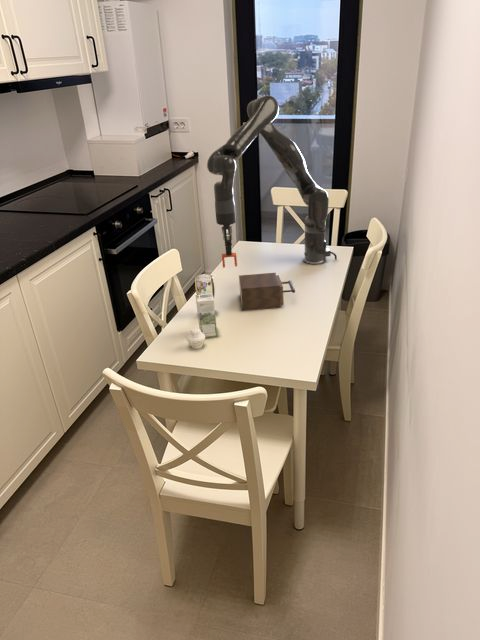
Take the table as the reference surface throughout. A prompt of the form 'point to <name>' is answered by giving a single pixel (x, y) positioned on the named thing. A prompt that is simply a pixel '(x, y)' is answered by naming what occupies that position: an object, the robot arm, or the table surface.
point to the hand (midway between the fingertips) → (228, 253)
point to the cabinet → (259, 291)
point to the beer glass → (205, 285)
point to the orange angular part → (229, 256)
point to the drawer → (285, 290)
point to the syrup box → (206, 314)
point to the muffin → (196, 338)
